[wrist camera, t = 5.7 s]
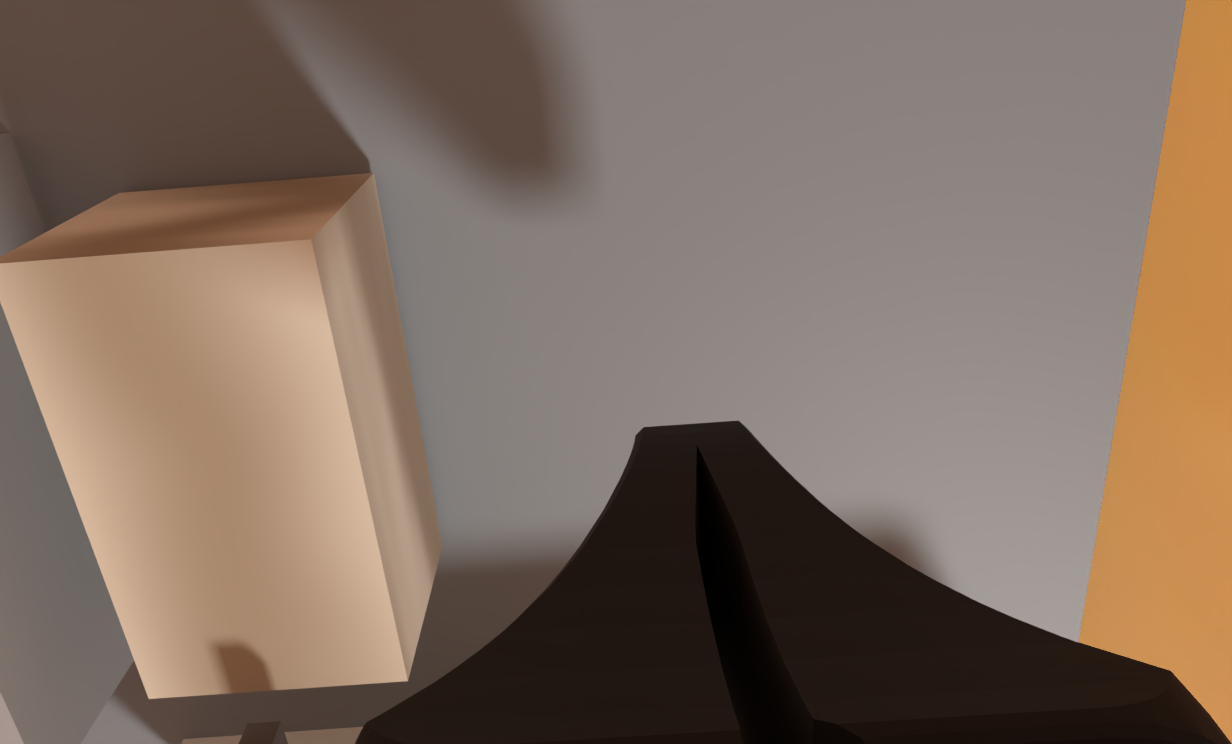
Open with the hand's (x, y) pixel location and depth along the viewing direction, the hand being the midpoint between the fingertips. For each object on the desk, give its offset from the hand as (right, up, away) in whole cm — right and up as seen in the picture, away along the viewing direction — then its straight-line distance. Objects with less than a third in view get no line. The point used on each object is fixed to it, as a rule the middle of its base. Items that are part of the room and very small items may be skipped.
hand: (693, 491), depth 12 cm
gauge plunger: (-6, 0, +5) cm, 8 cm away
